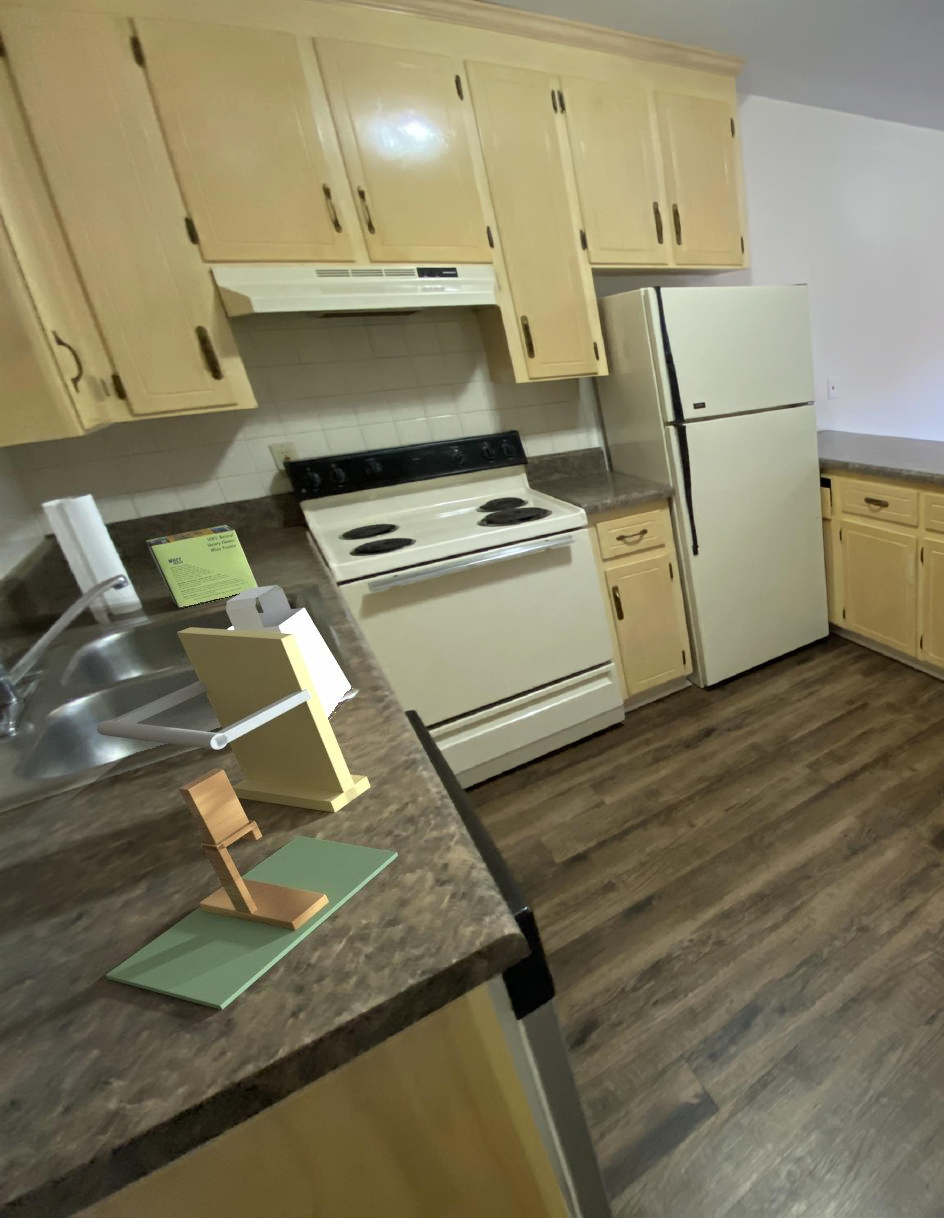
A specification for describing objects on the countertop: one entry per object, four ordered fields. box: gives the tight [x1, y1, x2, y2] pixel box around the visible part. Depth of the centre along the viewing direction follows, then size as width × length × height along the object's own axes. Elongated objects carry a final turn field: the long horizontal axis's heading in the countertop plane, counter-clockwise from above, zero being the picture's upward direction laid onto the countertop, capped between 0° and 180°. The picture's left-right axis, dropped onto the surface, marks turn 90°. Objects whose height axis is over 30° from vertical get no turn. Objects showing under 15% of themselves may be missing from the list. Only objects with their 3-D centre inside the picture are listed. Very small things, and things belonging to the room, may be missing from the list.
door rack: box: [96, 626, 371, 814], centre depth 75 cm, size 13×17×22 cm
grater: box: [225, 584, 352, 718], centre depth 99 cm, size 10×10×20 cm
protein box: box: [144, 524, 259, 608], centre depth 159 cm, size 10×15×16 cm
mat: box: [105, 835, 399, 1011], centre depth 65 cm, size 14×18×1 cm
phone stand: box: [178, 768, 329, 930], centre depth 62 cm, size 4×12×15 cm, turn 75°
